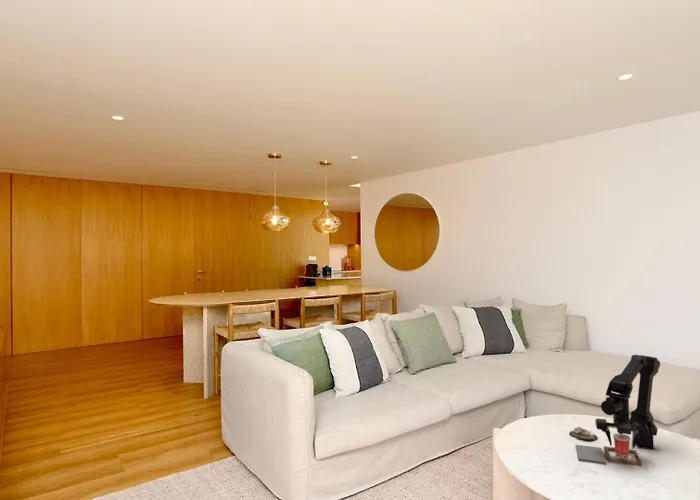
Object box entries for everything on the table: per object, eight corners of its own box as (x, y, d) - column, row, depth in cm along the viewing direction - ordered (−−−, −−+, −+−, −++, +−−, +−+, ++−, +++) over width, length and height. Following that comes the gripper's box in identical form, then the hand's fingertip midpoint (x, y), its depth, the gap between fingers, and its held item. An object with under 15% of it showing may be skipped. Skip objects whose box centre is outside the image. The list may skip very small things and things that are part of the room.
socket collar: (635, 453, 190) (635, 448, 190) (642, 466, 179) (641, 461, 179) (603, 449, 194) (603, 444, 194) (607, 461, 183) (607, 456, 183)
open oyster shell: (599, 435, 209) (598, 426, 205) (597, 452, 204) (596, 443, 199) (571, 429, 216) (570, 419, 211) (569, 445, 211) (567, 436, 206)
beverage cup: (633, 461, 183) (632, 427, 183) (616, 460, 184) (616, 426, 184) (627, 454, 189) (626, 421, 189) (611, 453, 190) (610, 421, 190)
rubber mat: (601, 450, 194) (601, 447, 194) (606, 464, 181) (606, 462, 181) (575, 446, 198) (575, 444, 198) (578, 460, 185) (578, 458, 185)
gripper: (598, 413, 183) (599, 451, 183) (651, 419, 175) (652, 459, 175) (594, 404, 193) (595, 440, 193) (645, 409, 186) (646, 447, 186)
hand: (621, 446), depth 186 cm, fingers closed on beverage cup, 8 cm apart
